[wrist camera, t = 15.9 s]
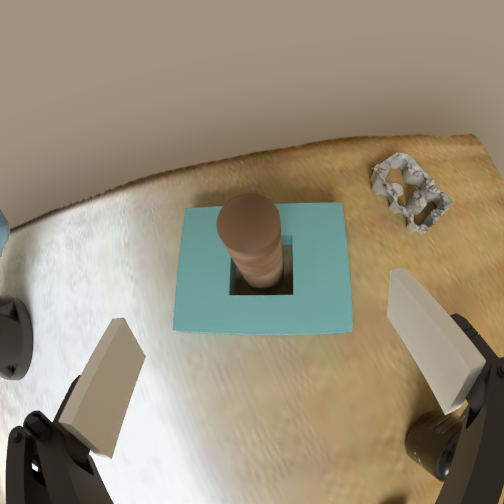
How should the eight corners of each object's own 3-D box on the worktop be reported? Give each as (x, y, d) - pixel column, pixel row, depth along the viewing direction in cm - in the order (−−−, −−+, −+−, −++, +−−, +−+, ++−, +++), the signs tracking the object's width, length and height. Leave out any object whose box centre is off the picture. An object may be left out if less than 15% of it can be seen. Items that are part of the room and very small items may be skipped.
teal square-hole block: (183, 332, 30) (173, 329, 27) (193, 219, 34) (185, 208, 32) (346, 332, 27) (352, 331, 24) (337, 214, 32) (341, 202, 29)
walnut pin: (244, 292, 30) (214, 252, 18) (245, 255, 32) (218, 195, 20) (283, 292, 30) (281, 250, 18) (283, 254, 31) (279, 192, 19)
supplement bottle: (395, 459, 21) (440, 500, 10) (415, 407, 23) (473, 428, 12) (438, 459, 19) (490, 489, 8) (457, 410, 21) (518, 423, 10)
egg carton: (361, 183, 34) (367, 164, 30) (395, 161, 34) (402, 142, 30) (414, 244, 30) (427, 230, 26) (444, 215, 30) (457, 200, 27)
